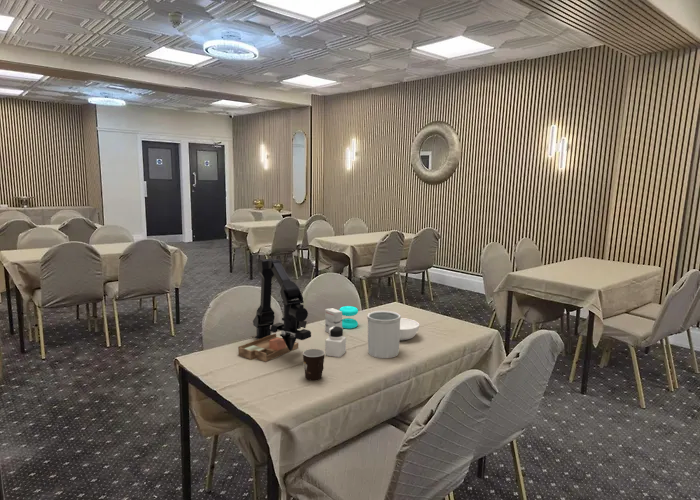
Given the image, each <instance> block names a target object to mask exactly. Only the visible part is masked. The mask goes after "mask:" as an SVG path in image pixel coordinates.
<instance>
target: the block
mask: <svg viewBox="0 0 700 500" xmlns="http://www.w3.org/2000/svg"><path fill="white" fill-rule="evenodd" d="M276 337H277V338H274V339H272V340H269V348H271V349H274V350H277V351H278V350H280V349H283V348H285V347H286V343H285V341H284V340H283V339H281V338H282V337H279V336H276ZM278 337H279V338H278Z"/></svg>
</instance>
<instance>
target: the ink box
mask: <svg viewBox="0 0 700 500" xmlns="http://www.w3.org/2000/svg"><path fill="white" fill-rule="evenodd" d="M324 319H325V320H324V322H325V323H324V329H325V332H326V333H328V334H329V329H330V328H331V327H334V326H337V327H341V328H342V319H343V315H342V311H339V309H336V308H333V307H332V308H325V309H324ZM342 329H343V328H342Z"/></svg>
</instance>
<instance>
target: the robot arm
mask: <svg viewBox="0 0 700 500" xmlns="http://www.w3.org/2000/svg"><path fill="white" fill-rule="evenodd" d="M257 270H258V271H257V272H258V273H259V274H260V276H261V282H260V283H261V286H260V287H261V288H260V304H259V306H258V308H257V309H256V315H255V317H254V318H253V320H252V325H253V327H255V329H256V335H255V336H254V337H253V338H254V339H256V340H258V339H261V338H264V337H266V336H269V335H272V334H271V332H272V333H273V334H275V333H276V334H277V332H278V331H281V334H280V337H281V338H283V340H284V341H285V343H286V345H287V347H288V349H289V350H290V352H292V351H291V350H292V349H293V346H294V343H295V342H296V341H297V340H299V341H304V340H307V339H309V338H311V337H312V331H311V330H310V329H306V326H307V323H308V321H307V320H306V319H308V316H309V312H308V310H307V308H305V307H304V296H303V295H302V292H301V289H300V288H299V286H298V285H297V284H296V283H295V282H294V281H292V280H291V279H290V277H289V275H288V274H287V272H286V269H285V268H284V266H283V265H282V260H281V259H280V258H279V259H275V258H273V257H272V258H271V257H270V258H261V259H260V260H258V262H257ZM274 277H275V279H276V281H277V282H278V284H279V286H280V287H279V288H280V290H279V293H280V296H281V299H282V301H281V302H282V304H283V316H282V317H281V321H282V322H283V323H282V322H277V323H275V317H276V316H275V311H274V309H272V304H271V303H272V284H273V278H274ZM301 328H302V329H301Z"/></svg>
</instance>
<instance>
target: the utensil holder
mask: <svg viewBox="0 0 700 500" xmlns="http://www.w3.org/2000/svg"><path fill="white" fill-rule="evenodd" d="M366 317H367V353H368V354H369V355H370V356H371V357H374V358H378V359H391V358H395V357H397V356H398V355H399V352H400V351H399V350H400V340H399V339H400V319H401V318H402V316H401V314H400V313H398V312H396V311H393V310H392V311H391V310H374V311H372V312H368V313H367V316H366Z"/></svg>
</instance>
